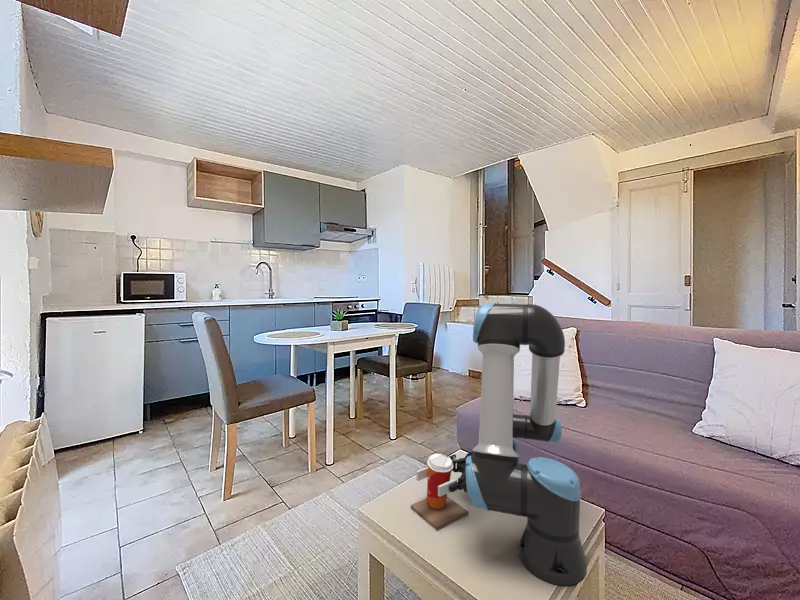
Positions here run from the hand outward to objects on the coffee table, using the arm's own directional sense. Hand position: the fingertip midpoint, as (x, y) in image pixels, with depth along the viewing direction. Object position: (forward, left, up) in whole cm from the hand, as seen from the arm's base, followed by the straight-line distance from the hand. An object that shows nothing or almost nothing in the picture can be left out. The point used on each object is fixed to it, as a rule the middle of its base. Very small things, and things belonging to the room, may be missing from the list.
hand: (427, 483), depth 103 cm
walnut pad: (0, -5, -10) cm, 11 cm away
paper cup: (+2, -5, -9) cm, 10 cm away
